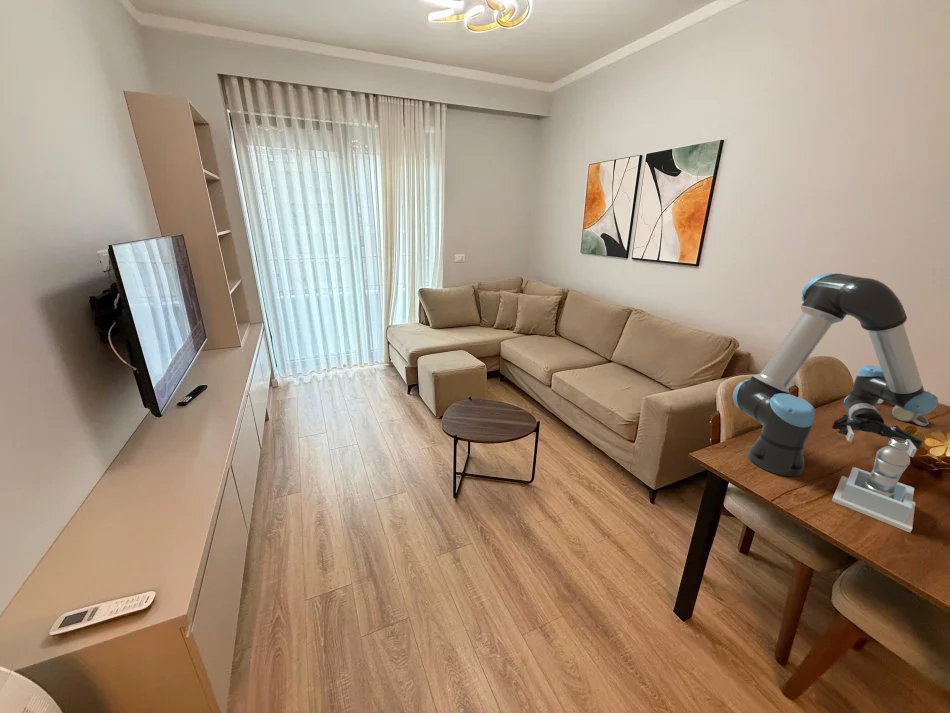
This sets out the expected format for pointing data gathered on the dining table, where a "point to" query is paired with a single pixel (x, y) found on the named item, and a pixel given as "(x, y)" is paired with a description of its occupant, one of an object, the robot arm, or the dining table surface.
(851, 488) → the box
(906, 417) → the ceramic mug
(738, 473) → the dining table surface
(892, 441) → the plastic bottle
